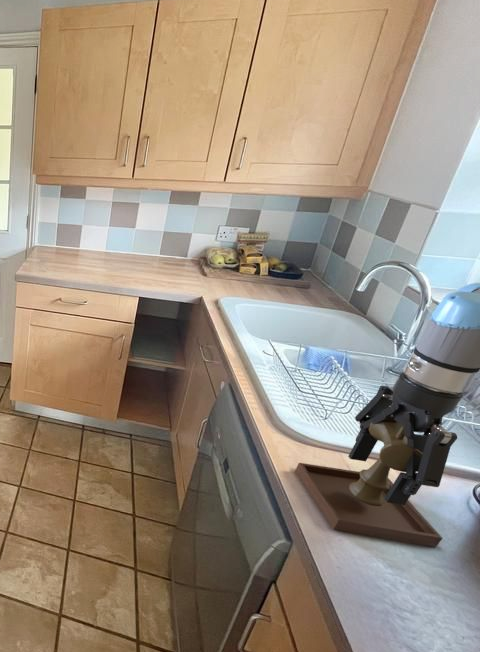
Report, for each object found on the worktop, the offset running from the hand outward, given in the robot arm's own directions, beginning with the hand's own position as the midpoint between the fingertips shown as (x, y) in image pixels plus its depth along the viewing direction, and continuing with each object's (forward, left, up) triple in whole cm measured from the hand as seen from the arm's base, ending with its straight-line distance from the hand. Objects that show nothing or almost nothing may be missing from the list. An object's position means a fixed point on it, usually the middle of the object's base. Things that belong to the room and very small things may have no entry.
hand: (374, 479), depth 79 cm
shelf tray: (0, 0, -7) cm, 7 cm away
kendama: (0, 0, -5) cm, 5 cm away
